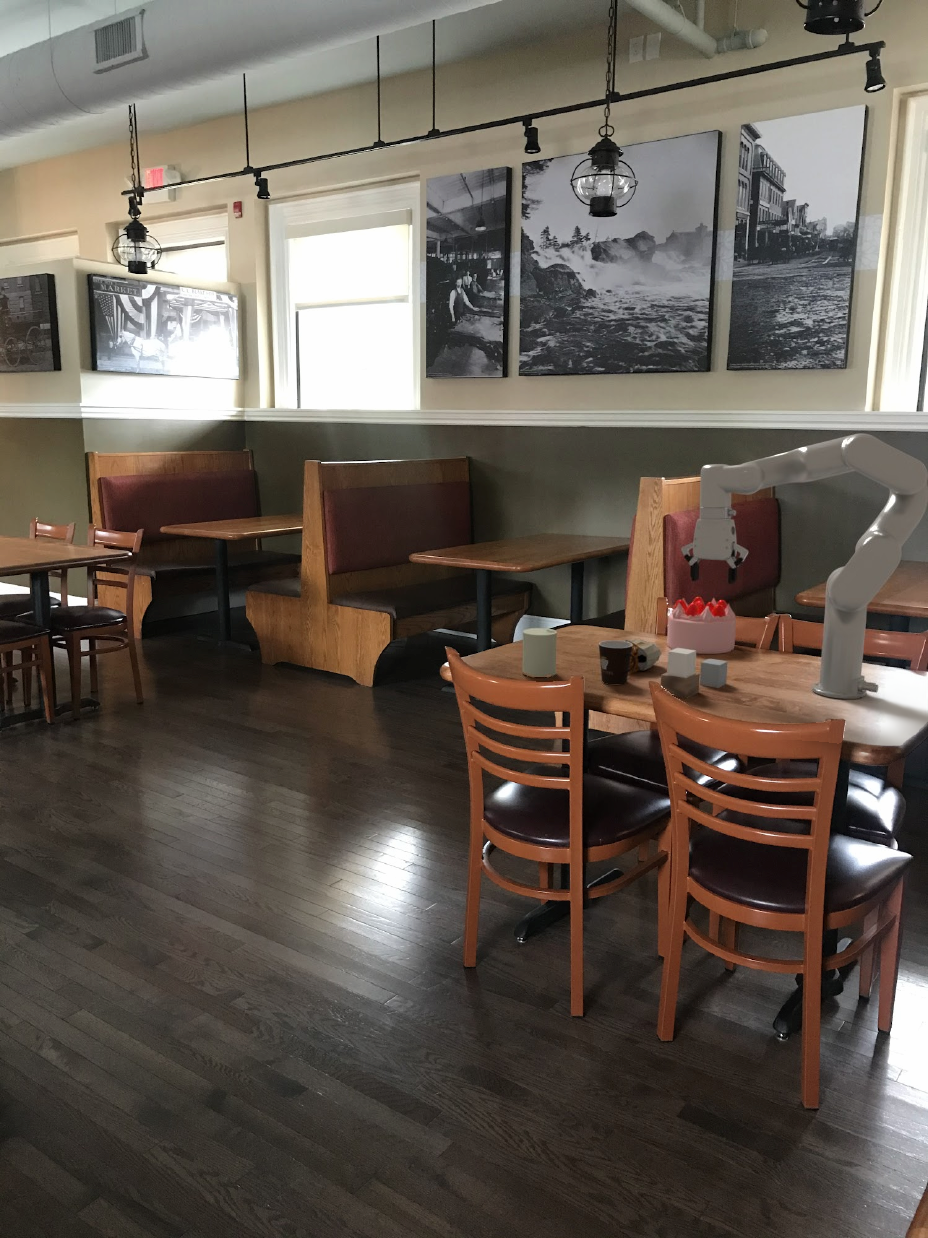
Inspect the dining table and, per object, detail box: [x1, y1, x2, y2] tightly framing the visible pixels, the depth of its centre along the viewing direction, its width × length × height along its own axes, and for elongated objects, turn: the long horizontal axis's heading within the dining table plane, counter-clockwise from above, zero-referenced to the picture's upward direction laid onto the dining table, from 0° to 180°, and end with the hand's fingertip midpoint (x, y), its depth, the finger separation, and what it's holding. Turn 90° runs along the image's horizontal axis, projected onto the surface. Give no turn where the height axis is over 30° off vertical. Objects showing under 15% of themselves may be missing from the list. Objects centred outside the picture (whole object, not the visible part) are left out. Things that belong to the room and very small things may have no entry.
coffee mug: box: [598, 640, 636, 685], centre depth 249 cm, size 12×9×10 cm
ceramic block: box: [667, 648, 697, 678], centre depth 239 cm, size 5×5×6 cm
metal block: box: [660, 671, 700, 699], centre depth 241 cm, size 7×7×5 cm
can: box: [521, 627, 558, 676], centre depth 258 cm, size 9×9×12 cm
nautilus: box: [624, 638, 663, 676], centre depth 264 cm, size 8×22×15 cm
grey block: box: [699, 658, 729, 689], centre depth 249 cm, size 5×5×6 cm
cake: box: [666, 596, 737, 655], centre depth 290 cm, size 20×20×14 cm
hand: (713, 581), depth 246 cm, fingers open, 9 cm apart
